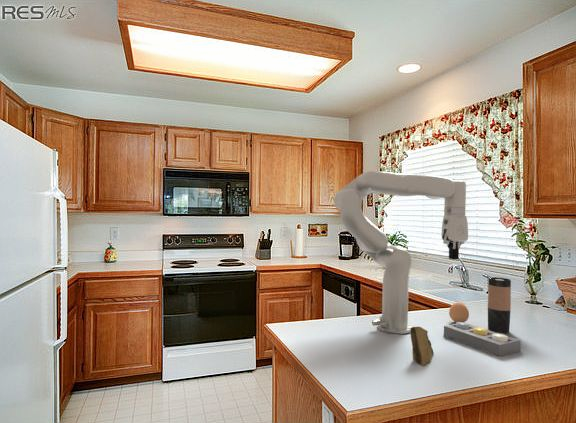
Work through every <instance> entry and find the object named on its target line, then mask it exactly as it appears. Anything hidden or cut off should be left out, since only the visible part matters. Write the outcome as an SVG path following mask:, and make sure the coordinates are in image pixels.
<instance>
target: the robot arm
mask: <svg viewBox="0 0 576 423" xmlns="http://www.w3.org/2000/svg"><path fill="white" fill-rule="evenodd" d="M466 193H467V184H466V182H465V181H464V180H459V179H458V180H457V179H456V180H452V179H451V178H448V177H444V176H436V175H435V176H434V175H425V174H424V175H423V174H408V173H406V174H405V173H397V172H396V173H394V172H389V171H387V172H386V171H380V170H379V171H378V170H369V171H366V172H363V173H361V174H359V175H358V176H357V177H356V178H354V179H352V181H350V182H349V183H348V184H347V185H344V187H342V188H341V189H339V190H338V191H337V192H336V194H335V195H334V198H333V204H334V207H335V208H336V209H337V210H339V216H340V221H341V224H342V225H343V227H344V228H345V230H346V231H347V232H348V233H349V234H351V235H352V237H354V239H355V241H356V244H357V245H358V247H359V248H360V249H361V250H362V252H364V253H365V255H367V256H368V257H370V258H371V259H372V260H373V261H374V262H376V264H378V265H379V266H381V267H383V268H384V272H383V277H382V301H381V303H382V304H381V315H380V316H379V318H378V319H375V320H372V321H371V324H372V326H374V327H375V326H377V328H378V329H379V330H380V331H383V332H386V333H389V334H390V333H391V334H396V335H397V334H398V335H402V334H403V335H404V334H409V333H410V334H411V331H410V328H412V326H411V325H409V324H408V323H409V322H408V321H409V319H408V318H409V287H410V286H409V284H410V282H409V280H410V272H411V268H412V257H411V254H410V252H409V251H408V250H407V249H406V248H404V247H402V246H398V245H393V244H391V243H390V242H389V238H388V237H387V235H386V233H385V232H384V231H383V230H381V229H380V228H379V227H377V225H375V224H374V223H373V222H372V221H370V220H369V219H368V218H367V217H366V215H365V214H364V213H363V209H362V204H363V203H362V202H363V199H365V198H366V197H367V196H368V195H370V194H376V195H377V194H378V195H379V194H380V195H389V196H397V197H413V196H414V197H415V196H421V197H422V196H425V197H426V198H428V199H432V200H434V199H435V200H437V199H444V206H443V207H444V208H443V209H444V210H443V214H444V215H443V218H442V224H441V240H443V241H442V243H443V244H444V245H447V249H448V259H449V260H459V258H460V257H459V256H460V254H459V253H460V248H461V246H462V245H464V244H465V243H466V241H468V240H469V227H468V226H469V225H468V218H467V215H466V199H467V196H466V195H467V194H466Z"/></svg>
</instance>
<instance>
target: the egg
mask: <svg viewBox="0 0 576 423" xmlns="http://www.w3.org/2000/svg"><path fill="white" fill-rule="evenodd" d="M448 312H449V317H450V318H449V319H451V320H452V321H453V322H454V323H456V322H464V323H467V321H468V320H469V316H470V312H469V308H468V307H467V306H466V305H465V304H464V303H463V302H459V301H457V302H454V303H452V304H451V306H450V307H449V311H448Z"/></svg>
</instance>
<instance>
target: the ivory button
mask: <svg viewBox="0 0 576 423" xmlns="http://www.w3.org/2000/svg"><path fill="white" fill-rule="evenodd" d="M507 336H508V335H505V334H503V333H499V334H492V339H493V340H496V341H499V342H502V343H504V342H508V337H507Z"/></svg>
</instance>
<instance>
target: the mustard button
mask: <svg viewBox="0 0 576 423" xmlns="http://www.w3.org/2000/svg"><path fill="white" fill-rule="evenodd" d="M473 333H475V334H478V335H481V336H485V335H488V329H486V328H484V327H480V328H473Z"/></svg>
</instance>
